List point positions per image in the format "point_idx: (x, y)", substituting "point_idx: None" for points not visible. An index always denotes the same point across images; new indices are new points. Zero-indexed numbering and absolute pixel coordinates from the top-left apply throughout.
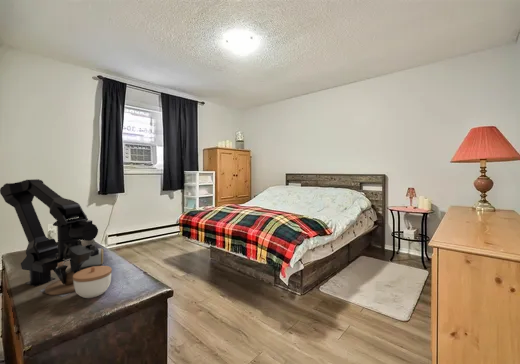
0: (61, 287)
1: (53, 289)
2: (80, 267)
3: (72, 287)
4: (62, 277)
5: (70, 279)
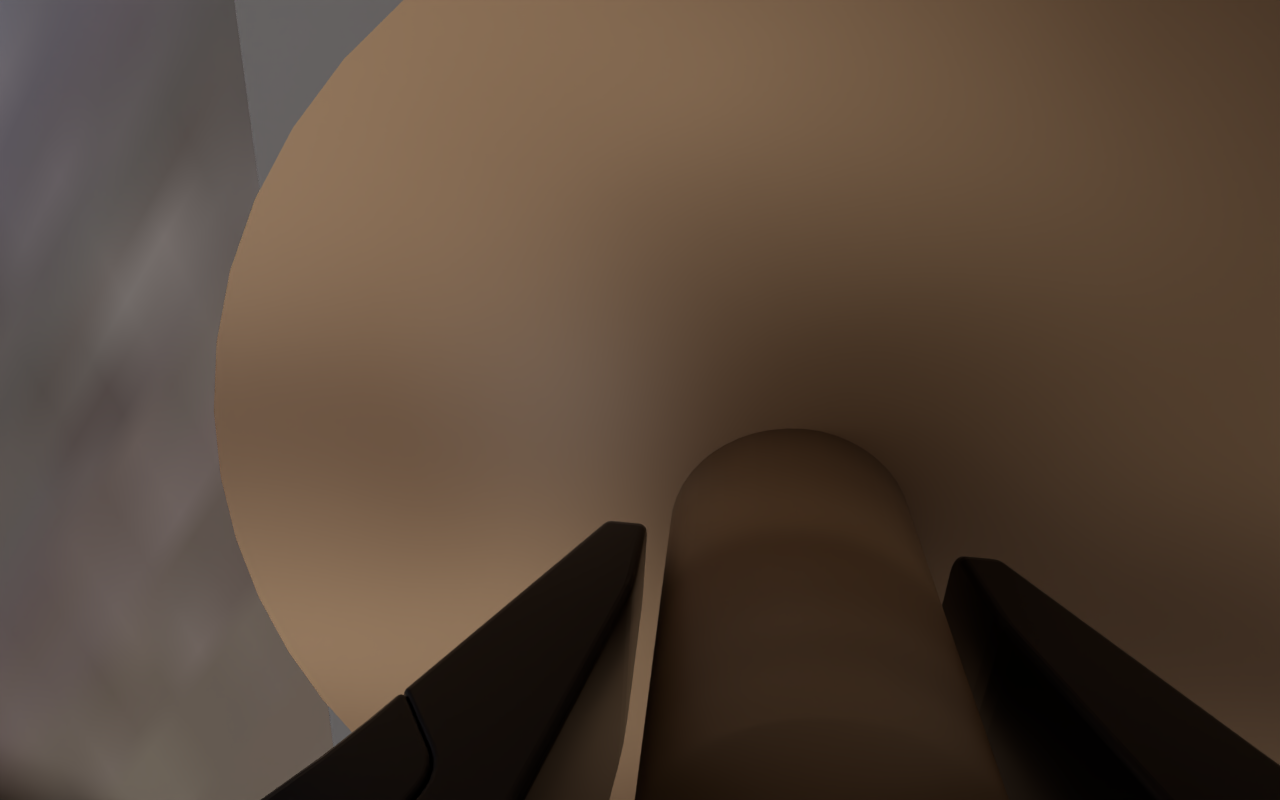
0: (1069, 526)
1: (1217, 622)
2: (295, 777)
3: (1024, 179)
4: (1244, 764)
5: (870, 539)
